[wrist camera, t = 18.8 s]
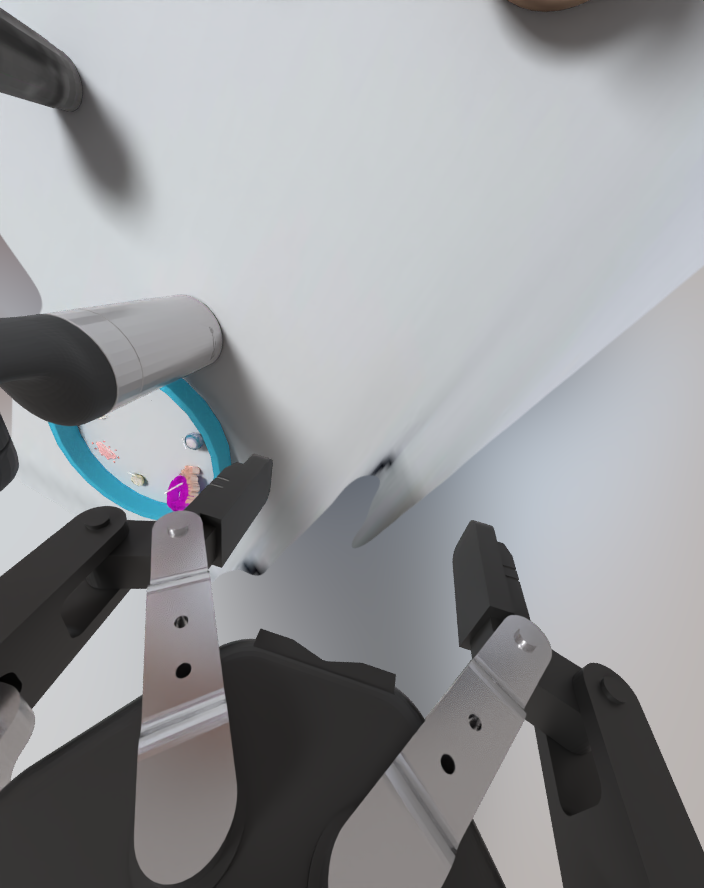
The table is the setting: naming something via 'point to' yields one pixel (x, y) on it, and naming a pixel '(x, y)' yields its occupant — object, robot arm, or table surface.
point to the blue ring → (127, 497)
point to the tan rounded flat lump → (547, 4)
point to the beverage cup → (36, 67)
